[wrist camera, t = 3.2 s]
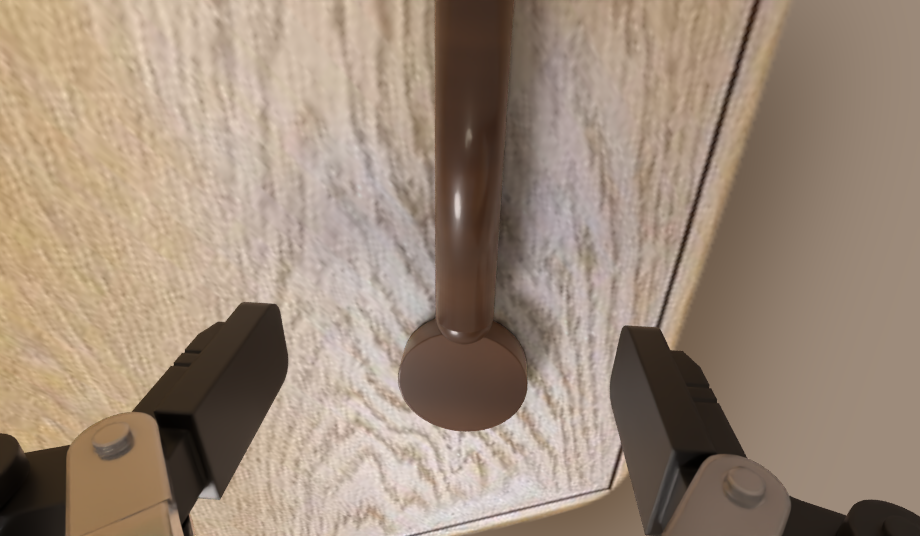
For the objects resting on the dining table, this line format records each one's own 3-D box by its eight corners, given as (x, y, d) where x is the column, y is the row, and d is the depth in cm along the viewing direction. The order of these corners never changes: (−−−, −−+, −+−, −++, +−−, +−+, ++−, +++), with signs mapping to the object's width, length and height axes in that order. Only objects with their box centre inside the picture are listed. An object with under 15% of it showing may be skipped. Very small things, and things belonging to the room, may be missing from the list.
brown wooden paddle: (383, -112, 13) (364, -127, 11) (578, -109, 12) (589, -123, 11) (405, 405, 21) (396, 443, 20) (521, 413, 21) (522, 453, 19)
